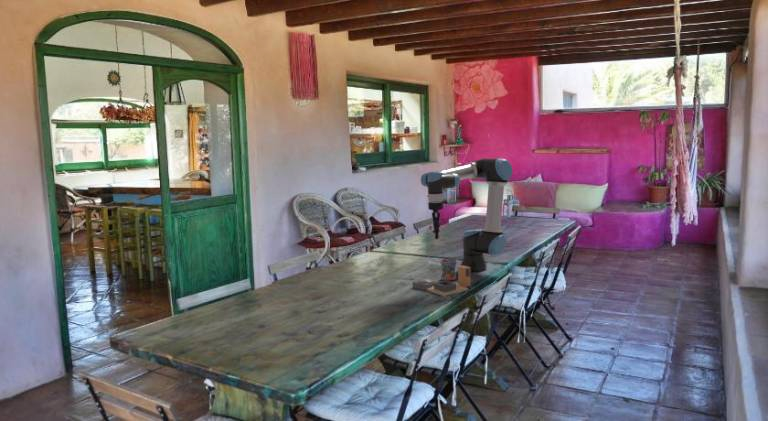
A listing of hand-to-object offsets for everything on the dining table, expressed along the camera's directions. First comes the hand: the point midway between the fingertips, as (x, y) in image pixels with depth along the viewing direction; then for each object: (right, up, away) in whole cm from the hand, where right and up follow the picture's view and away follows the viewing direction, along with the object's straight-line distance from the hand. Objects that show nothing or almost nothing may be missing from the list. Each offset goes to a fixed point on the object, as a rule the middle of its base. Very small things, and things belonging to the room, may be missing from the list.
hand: (436, 242), depth 296 cm
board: (+4, -24, -3) cm, 25 cm away
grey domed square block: (-5, -24, +4) cm, 25 cm away
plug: (+15, -23, +5) cm, 28 cm away
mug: (+9, -21, +19) cm, 30 cm away
